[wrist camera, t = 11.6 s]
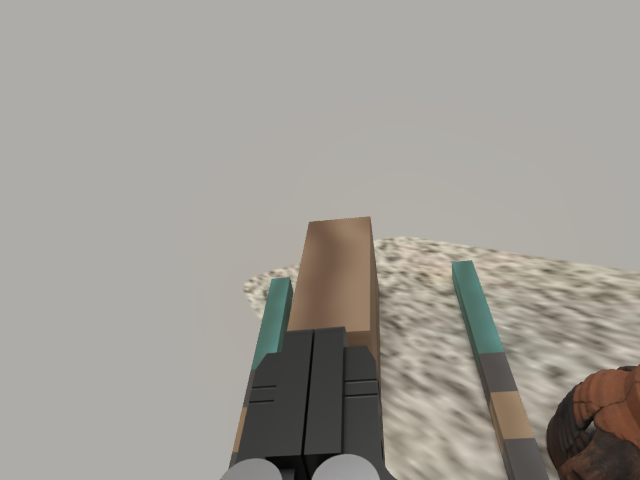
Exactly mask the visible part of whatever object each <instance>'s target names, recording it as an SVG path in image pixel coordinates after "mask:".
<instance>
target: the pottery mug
mask: <svg viewBox="0 0 640 480" xmlns="http://www.w3.org/2000/svg"><path fill="white" fill-rule="evenodd" d="M593 420H594V426H595V427H596V429H595V430H593V431H592V433H591V435H588V434H587V433H585V430H586V429H587V427H588V426H589V425H590V424H591V422H592V421H593ZM547 445H548V450H549V453H550V455H551V457H552V460H553V462H554V464H555V467H556V468H557V470H558V475H559V478H560V480H639V479H640V364H639V365H638V366H625V367H619V368H618V369H617V370H615V369H609V370H605V369H603V370H600V371H598V372H597V373H595V374H591V375H589V376H588V377H587V378H586V379H585V381H584V382H580V383H579V384H578V385H576V386H575V387H574V388H573V389H572V391H570V392H569V393H568V394H567V395H566V397H565V398H564V399H563V401H562V402H561V403H560V404H559V406H558V409H557V411H556V413H555V415H554V416H553V417H552V419H551V420H550V422H549V425H548V429H547Z"/></svg>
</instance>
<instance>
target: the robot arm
mask: <svg viewBox="0 0 640 480" xmlns="http://www.w3.org/2000/svg"><path fill="white" fill-rule="evenodd" d="M220 480H397V479H395V478H394V477H393V476H392V475H391V474H390V473H389V471H388V470H387V469H386V467H385V455H384V438H383V422H382V404H381V395H380V388H379V381H378V373H377V366H376V360H375V359H374V357H373V355H372V354H371V352H370V350H369V349H368V347H367V346H354V347H349V345H348V340H347V334H346V329H345V326H341V327H328V328H317V329H316V330H315V329H305V330H293V331H286V332H285V336H284V342H283V348H282V352H276V353H267V354H266V355H265V357H264V358H263V359H262V361H261V362H260V364H259V365H258V367H257V368H256V370H255V375H254V379H253V384H252V390H251V393H250V398H249V405H248V407H247V412H246V416H245V421H244V426H243V430H242V435H241V440H240V444H239V449H238V453H237V458H236V461H235V464H234V466H233V467H231V468H230V469H229V470H228V471H227V472H226V473H225V474H224V475H223V476H222V478H221V479H220Z"/></svg>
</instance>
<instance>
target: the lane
mask: <svg viewBox="0 0 640 480" xmlns="http://www.w3.org/2000/svg"><path fill="white" fill-rule="evenodd" d="M452 279H453V282H454V286H455V289H456V293H457V296H458V300H459V304H460V307H461V311H462V314H463V318H464V321H465V325H466V329H467V332H468V336H469V339H470V343H471V346H472V350H473V354H474V357H475V361H476V364H477V368H478V371H479V375H480V379H481V382H482V386H483V389H484V393H485V396H486V400H487V404H488V407H489V411H490V414H491V418H492V421H493V425H494V429H495V432H496V436H497V439H498V443H499V446H500V450H501V453H502V457H503V461H504V464H505V468H506V471H507V475H508V478H509V480H549V477H548V475H547V472H546V469H545V466H544V463H543V460H542V458H541V455H540V452H539V449H538V446H537V443H536V441H535V438H534V435H533V432H532V429H531V426H530V424H529V421H528V418H527V415H526V412H525V409H524V407H523V404H522V401H521V398H520V395H519V392H518V390H517V387H516V384H515V381H514V378H513V375H512V373H511V370H510V367H509V364H508V361H507V358H506V356H505V353H504V350H503V347H502V344H501V341H500V339H499V336H498V333H497V330H496V327H495V324H494V322H493V319H492V316H491V313H490V310H489V307H488V305H487V302H486V299H485V296H484V293H483V290H482V288H481V285H480V282H479V279H478V276H477V273H476V271H475V268H474V265H473V262H472V260H471V261H460V262H452ZM292 297H293V289H292V284H291V280H290V277H287V278H276V279H272V280H271V284H270V289H269V293H268V297H267V302H266V306H265V311H264V315H263V319H262V324H261V328H260V333H259V337H258V341H257V346H256V350H255V355H254V359H253V364H252V368H251V372H250V377H249V381H248V386H247V390H246V394H245V399H244V403H243V408H242V412H241V417H240V421H239V426H238V430H237V434H236V439H235V443H234V448H233V452H232V456H231V461H230V465H229V469H230V468H231V467H233V466H234V464H235V461H236V458H237V453H238V449H239V444H240V440H241V435H242V430H243V426H244V421H245V416H246V412H247V407H248V405H249V398H250V393H251V390H252V384H253V379H254V375H255V370H256V368H257V367H258V365H259V364H260V362H261V361H262V359H263V358H264V357H265V355H266V354H267V353H276V352H282V348H283V342H284V336H285V332H286V331H287V328H288V322H289V315H290V309H291V303H292ZM229 469H228V470H229Z"/></svg>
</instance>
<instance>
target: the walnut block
mask: <svg viewBox="0 0 640 480" xmlns="http://www.w3.org/2000/svg"><path fill="white" fill-rule="evenodd" d="M341 326H345V329H346V334H347V340H348V345H349V347H354V346H367V347H368V349H369V350H370V352H371V354H372V355H373V357H374V359H375V360H376V366H377V373H378V381H379V388H380V395H381V381H380V330H379V288H378V279H377V270H376V261H375V253H374V244H373V235H372V228H371V219H370V217H359V218H348V219H337V220H326V221H314V222H309V225H308V230H307V236H306V240H305V245H304V250H303V255H302V260H301V264H300V269H299V274H298V279H297V284H296V289H295V294H294V299H293V304H292V308H291V313H290V318H289V323H288V328H287V331H293V330H305V329H315V330H316V329H317V328H328V327H341Z"/></svg>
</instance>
